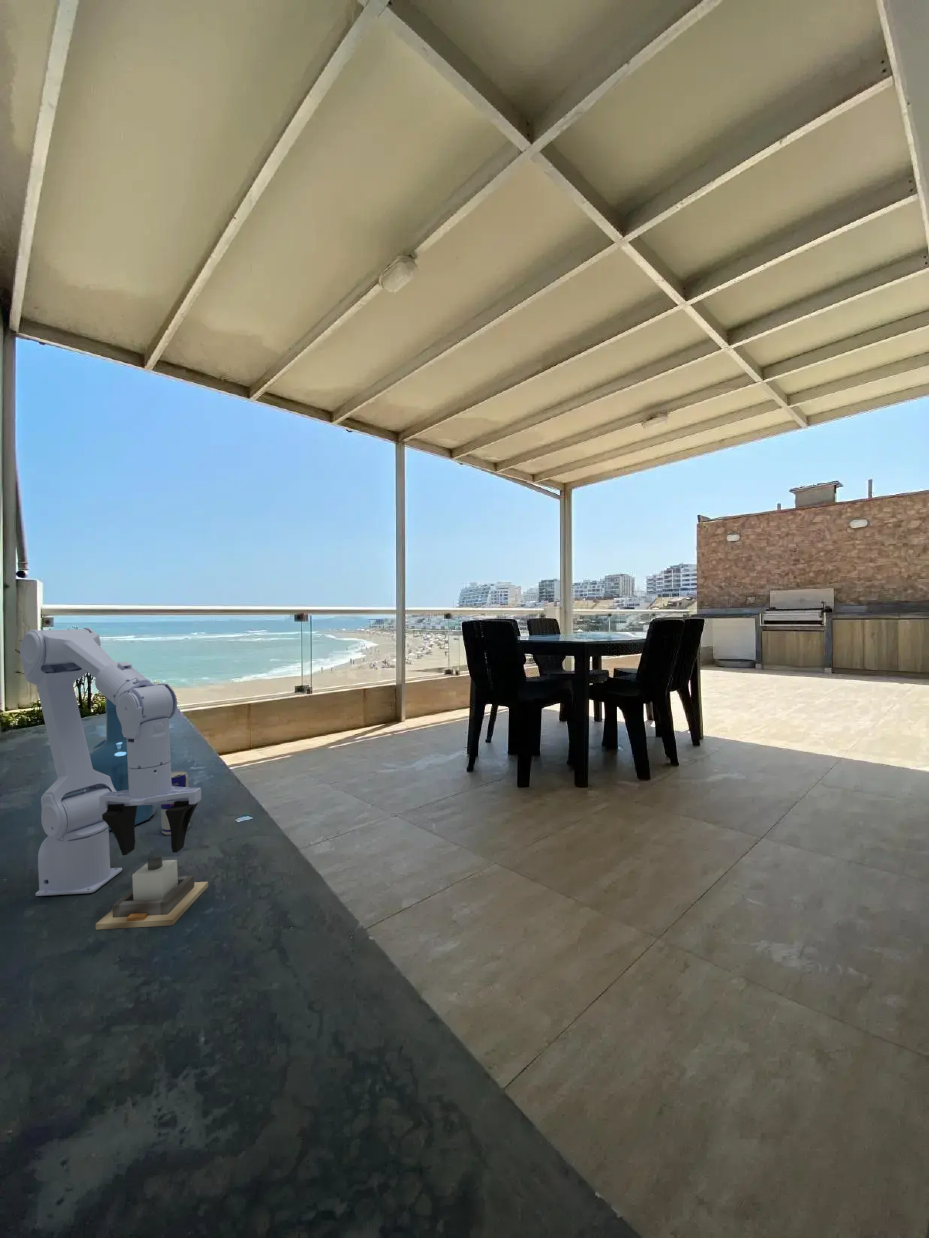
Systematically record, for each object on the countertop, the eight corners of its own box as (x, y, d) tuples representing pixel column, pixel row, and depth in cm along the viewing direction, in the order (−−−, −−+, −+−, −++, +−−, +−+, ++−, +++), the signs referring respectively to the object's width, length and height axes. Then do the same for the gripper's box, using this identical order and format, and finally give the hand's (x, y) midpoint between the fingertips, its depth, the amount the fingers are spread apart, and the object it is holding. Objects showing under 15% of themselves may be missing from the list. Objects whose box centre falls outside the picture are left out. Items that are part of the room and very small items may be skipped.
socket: (95, 929, 76) (95, 911, 76) (141, 890, 87) (140, 874, 87) (172, 925, 76) (172, 907, 76) (208, 886, 87) (207, 870, 87)
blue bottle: (167, 816, 120) (161, 686, 120) (102, 838, 109) (96, 694, 109) (137, 807, 128) (131, 684, 128) (73, 826, 117) (67, 692, 117)
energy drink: (178, 836, 109) (175, 778, 109) (155, 834, 110) (153, 777, 110) (196, 825, 114) (193, 770, 114) (174, 824, 115) (172, 770, 115)
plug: (133, 907, 79) (131, 864, 79) (150, 892, 84) (148, 851, 84) (163, 905, 79) (161, 863, 79) (178, 890, 84) (176, 850, 84)
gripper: (84, 773, 77) (87, 865, 77) (183, 768, 77) (187, 860, 77) (114, 760, 84) (118, 844, 84) (206, 756, 84) (209, 840, 84)
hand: (153, 851), depth 81 cm, fingers open, 7 cm apart
